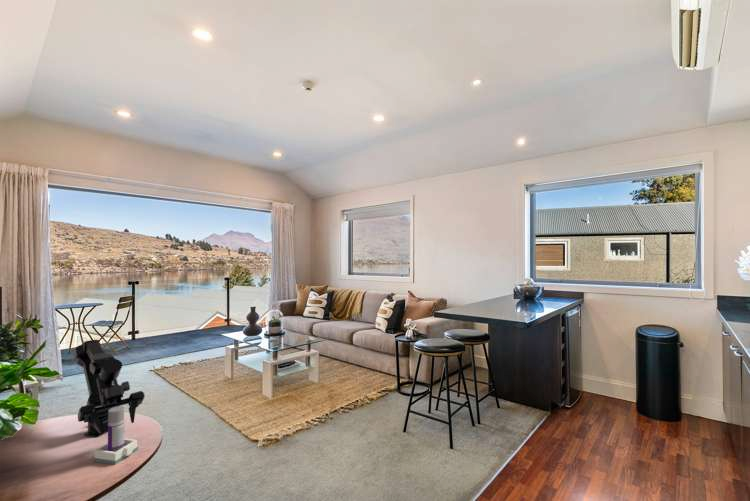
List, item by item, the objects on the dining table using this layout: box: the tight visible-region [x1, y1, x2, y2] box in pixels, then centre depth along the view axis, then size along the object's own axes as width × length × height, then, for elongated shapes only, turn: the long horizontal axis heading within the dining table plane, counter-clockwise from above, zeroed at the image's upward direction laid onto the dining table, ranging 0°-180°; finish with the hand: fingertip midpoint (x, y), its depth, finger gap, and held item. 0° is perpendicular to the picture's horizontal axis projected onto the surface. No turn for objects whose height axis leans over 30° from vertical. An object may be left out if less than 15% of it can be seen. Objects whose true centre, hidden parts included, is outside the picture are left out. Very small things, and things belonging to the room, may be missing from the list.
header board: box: [92, 437, 139, 465], centre depth 124 cm, size 10×9×4 cm
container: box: [107, 405, 125, 452], centre depth 124 cm, size 5×5×15 cm
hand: (117, 427), depth 123 cm, fingers open, 9 cm apart
